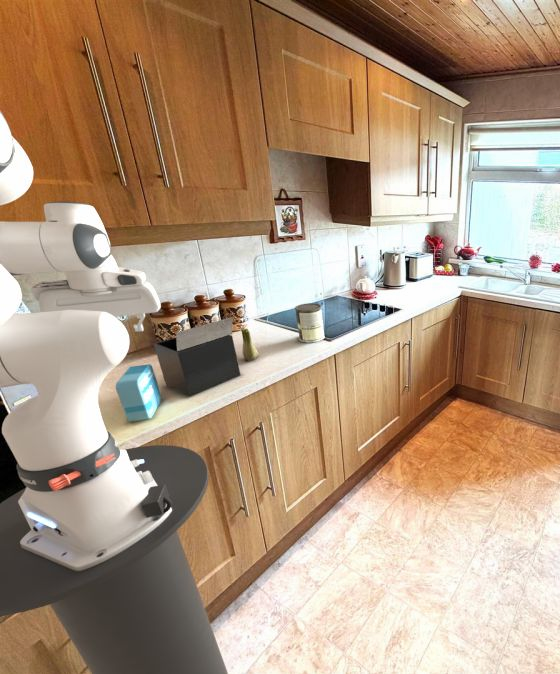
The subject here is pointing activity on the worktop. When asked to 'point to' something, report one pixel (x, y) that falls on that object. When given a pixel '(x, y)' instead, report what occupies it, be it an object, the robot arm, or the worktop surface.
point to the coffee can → (310, 322)
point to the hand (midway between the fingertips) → (114, 334)
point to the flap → (203, 333)
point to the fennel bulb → (248, 346)
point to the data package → (139, 392)
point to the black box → (197, 364)
